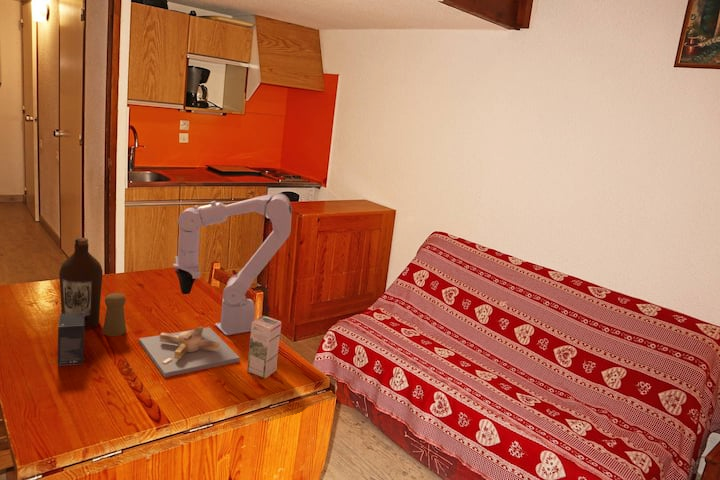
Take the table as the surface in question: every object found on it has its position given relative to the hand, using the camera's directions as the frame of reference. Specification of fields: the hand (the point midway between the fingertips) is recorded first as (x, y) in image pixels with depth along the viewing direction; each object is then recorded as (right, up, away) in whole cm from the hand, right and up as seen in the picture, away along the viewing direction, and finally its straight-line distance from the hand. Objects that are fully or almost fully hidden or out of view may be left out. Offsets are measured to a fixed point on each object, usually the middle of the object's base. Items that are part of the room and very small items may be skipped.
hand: (185, 293), depth 157 cm
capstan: (+5, -13, -13) cm, 20 cm away
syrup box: (+26, -19, -17) cm, 36 cm away
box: (-21, -14, -24) cm, 35 cm away
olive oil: (-28, -8, -6) cm, 30 cm away
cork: (-17, -10, -8) cm, 22 cm away
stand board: (+5, -15, -13) cm, 20 cm away
